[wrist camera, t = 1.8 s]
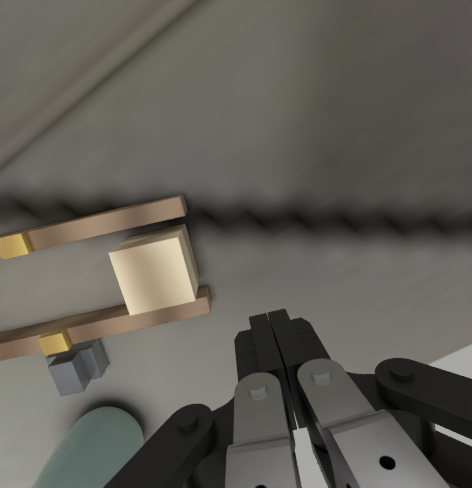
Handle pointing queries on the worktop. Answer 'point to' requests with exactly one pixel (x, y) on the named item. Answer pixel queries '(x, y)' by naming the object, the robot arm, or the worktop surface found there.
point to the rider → (156, 269)
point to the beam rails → (102, 321)
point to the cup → (92, 450)
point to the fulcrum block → (77, 366)
